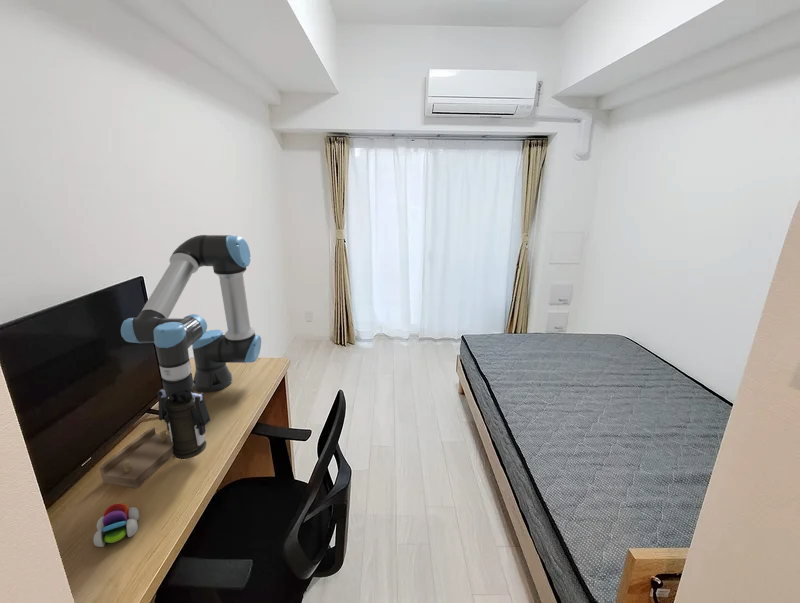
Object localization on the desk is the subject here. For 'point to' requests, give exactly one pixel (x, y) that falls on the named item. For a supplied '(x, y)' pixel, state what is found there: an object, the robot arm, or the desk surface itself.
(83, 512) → the desk surface
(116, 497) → the desk surface
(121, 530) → the rainbow striped lobed toy
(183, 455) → the container
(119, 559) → the desk surface
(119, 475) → the ledge
